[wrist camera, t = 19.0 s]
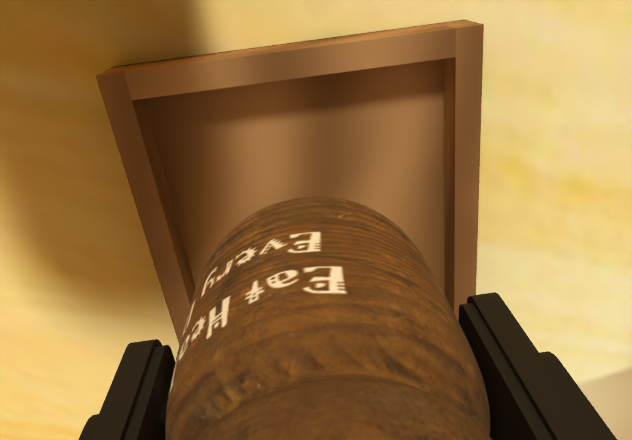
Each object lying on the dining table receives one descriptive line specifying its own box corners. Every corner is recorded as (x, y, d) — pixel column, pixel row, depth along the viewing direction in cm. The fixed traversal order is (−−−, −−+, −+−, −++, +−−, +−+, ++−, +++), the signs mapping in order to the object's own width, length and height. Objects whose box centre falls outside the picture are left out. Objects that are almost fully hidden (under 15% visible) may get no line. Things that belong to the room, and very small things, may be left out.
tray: (464, 19, 20) (483, 24, 18) (459, 364, 28) (472, 392, 26) (113, 66, 20) (96, 76, 18) (210, 397, 28) (205, 428, 26)
